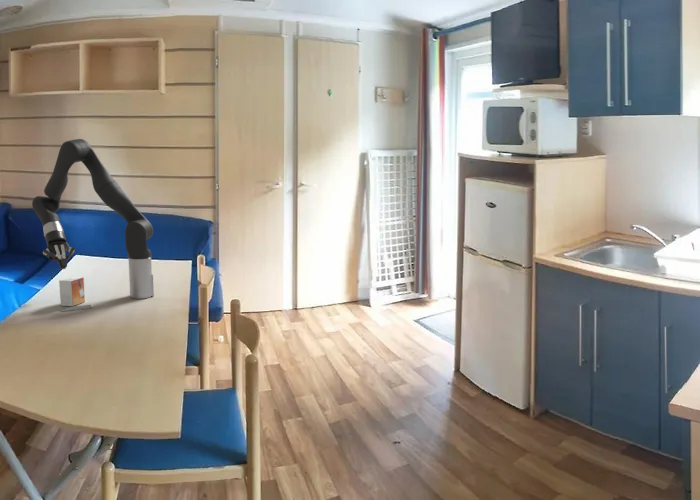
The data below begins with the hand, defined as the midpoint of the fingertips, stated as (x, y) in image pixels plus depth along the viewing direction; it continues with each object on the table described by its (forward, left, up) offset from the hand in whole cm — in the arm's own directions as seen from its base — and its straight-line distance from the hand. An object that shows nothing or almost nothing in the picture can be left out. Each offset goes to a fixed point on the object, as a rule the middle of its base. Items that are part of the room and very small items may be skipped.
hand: (63, 268), depth 238 cm
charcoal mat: (-2, +17, -13) cm, 22 cm away
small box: (-2, +10, -13) cm, 17 cm away
